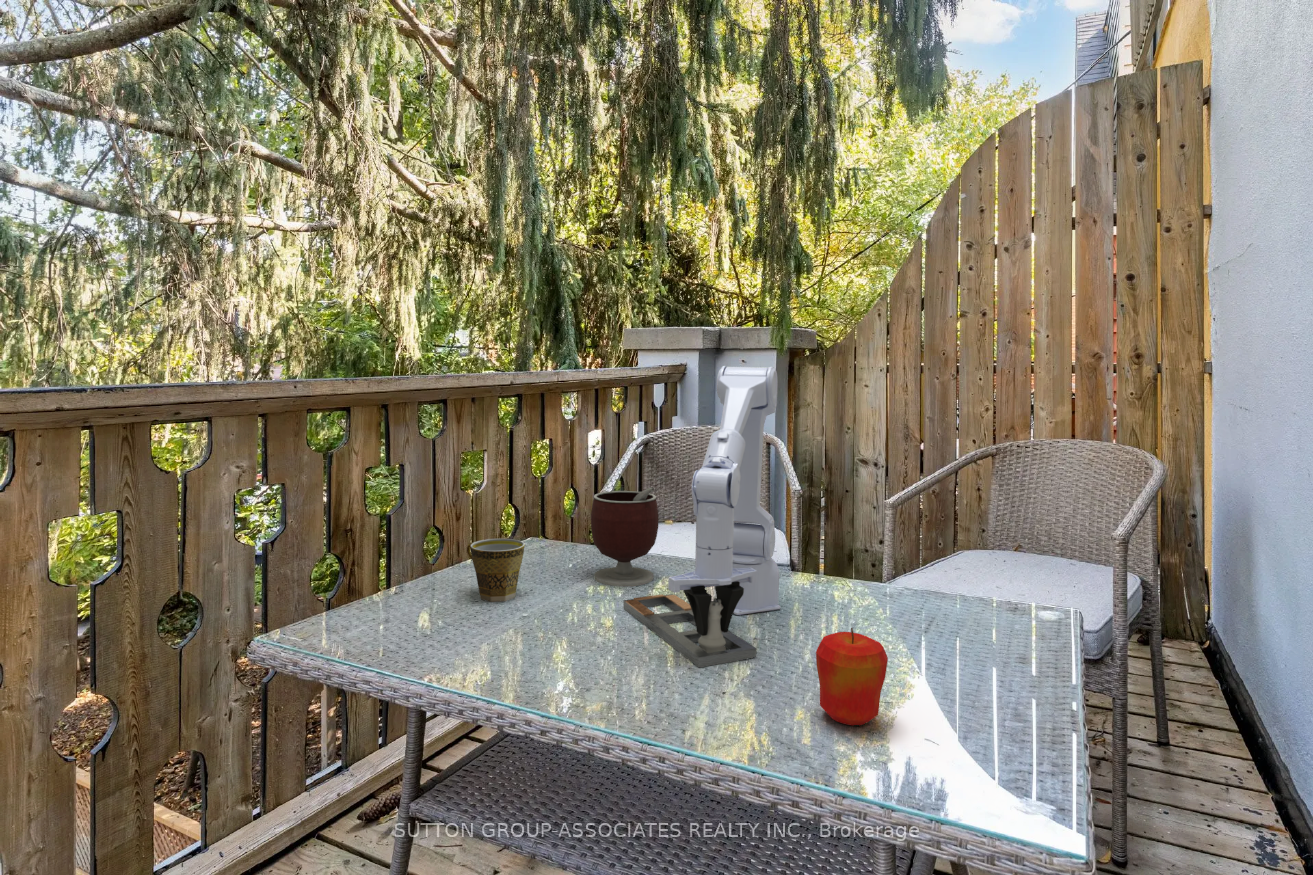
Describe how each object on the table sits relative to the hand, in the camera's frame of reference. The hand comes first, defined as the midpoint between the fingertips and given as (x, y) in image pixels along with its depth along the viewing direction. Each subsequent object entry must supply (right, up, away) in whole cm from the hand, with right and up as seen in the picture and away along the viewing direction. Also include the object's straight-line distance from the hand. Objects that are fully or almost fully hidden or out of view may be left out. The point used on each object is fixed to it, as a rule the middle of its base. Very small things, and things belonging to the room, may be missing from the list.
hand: (712, 631), depth 116 cm
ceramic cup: (-40, 0, +26) cm, 48 cm away
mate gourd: (-15, +1, +39) cm, 42 cm away
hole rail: (-4, -2, +9) cm, 10 cm away
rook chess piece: (0, -3, 0) cm, 3 cm away
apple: (+16, -6, -21) cm, 27 cm away
